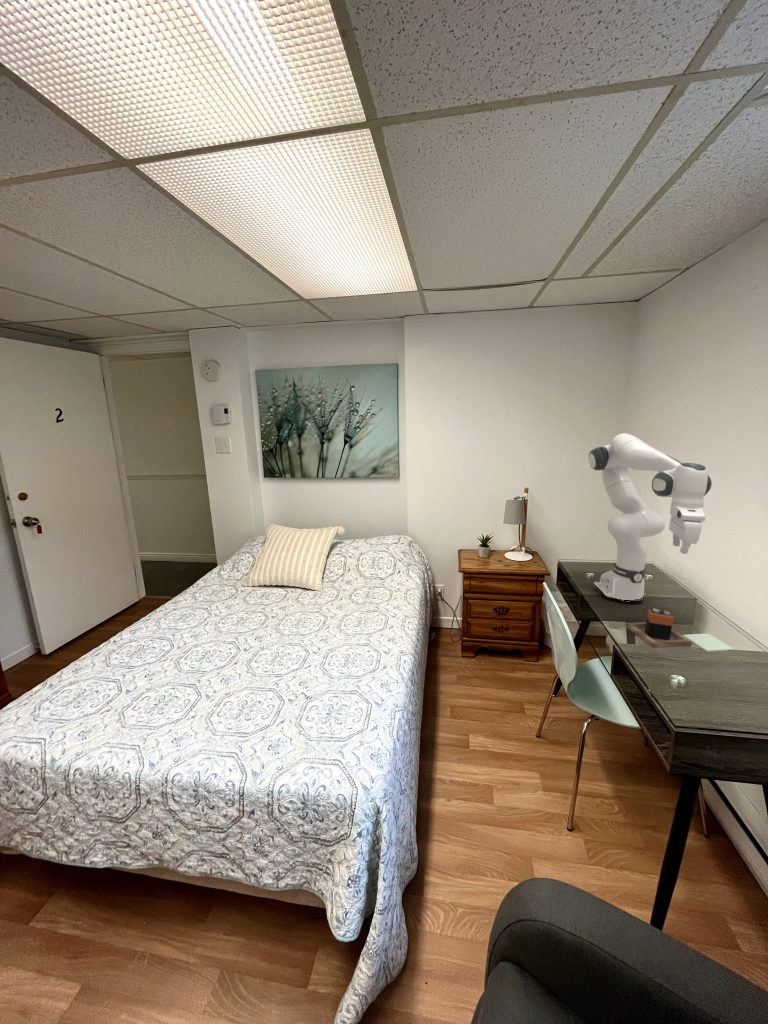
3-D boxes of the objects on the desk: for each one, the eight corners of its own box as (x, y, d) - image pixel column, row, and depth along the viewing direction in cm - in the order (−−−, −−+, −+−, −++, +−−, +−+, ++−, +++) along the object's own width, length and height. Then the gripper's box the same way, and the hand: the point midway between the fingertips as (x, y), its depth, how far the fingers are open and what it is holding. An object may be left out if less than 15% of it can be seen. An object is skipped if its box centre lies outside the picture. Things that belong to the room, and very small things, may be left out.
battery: (644, 631, 145) (648, 606, 143) (666, 634, 143) (670, 609, 141) (647, 637, 141) (652, 611, 139) (670, 640, 139) (674, 614, 137)
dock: (625, 626, 148) (626, 623, 148) (660, 625, 149) (660, 621, 149) (653, 647, 135) (654, 643, 134) (691, 645, 136) (692, 641, 136)
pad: (682, 636, 142) (682, 634, 142) (707, 634, 143) (708, 633, 143) (706, 651, 132) (707, 650, 132) (734, 650, 133) (734, 649, 133)
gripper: (667, 505, 146) (661, 540, 149) (683, 515, 127) (676, 556, 130) (687, 506, 143) (681, 542, 146) (707, 517, 125) (700, 558, 128)
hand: (679, 549), depth 138 cm, fingers open, 8 cm apart
